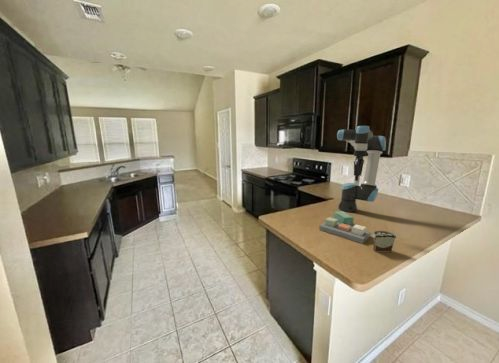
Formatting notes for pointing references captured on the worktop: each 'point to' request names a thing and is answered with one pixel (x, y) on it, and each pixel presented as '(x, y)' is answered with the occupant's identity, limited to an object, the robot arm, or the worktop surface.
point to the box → (343, 218)
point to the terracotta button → (344, 227)
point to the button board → (345, 233)
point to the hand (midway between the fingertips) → (356, 185)
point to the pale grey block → (359, 230)
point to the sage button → (331, 222)
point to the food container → (383, 241)
